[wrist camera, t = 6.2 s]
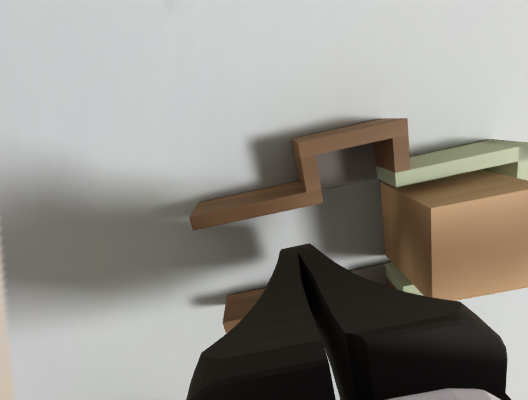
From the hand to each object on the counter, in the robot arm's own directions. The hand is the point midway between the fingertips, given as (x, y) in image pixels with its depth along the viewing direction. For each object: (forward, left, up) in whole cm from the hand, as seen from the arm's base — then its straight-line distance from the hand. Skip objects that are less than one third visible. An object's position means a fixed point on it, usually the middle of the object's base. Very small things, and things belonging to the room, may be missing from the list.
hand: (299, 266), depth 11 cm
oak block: (0, -7, -3) cm, 7 cm away
